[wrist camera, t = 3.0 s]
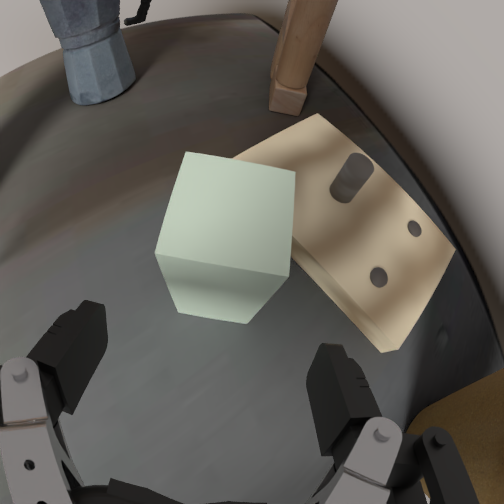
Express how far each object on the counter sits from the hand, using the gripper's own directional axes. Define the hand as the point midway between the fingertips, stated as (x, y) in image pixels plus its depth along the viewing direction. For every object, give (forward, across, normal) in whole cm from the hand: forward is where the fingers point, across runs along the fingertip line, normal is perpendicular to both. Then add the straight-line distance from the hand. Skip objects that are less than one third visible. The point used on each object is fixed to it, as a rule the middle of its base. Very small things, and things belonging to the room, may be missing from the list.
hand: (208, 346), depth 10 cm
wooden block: (+30, -3, -15) cm, 33 cm away
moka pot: (+27, +19, -12) cm, 35 cm away
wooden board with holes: (+16, -10, -2) cm, 20 cm away
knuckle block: (+11, 0, +4) cm, 12 cm away
